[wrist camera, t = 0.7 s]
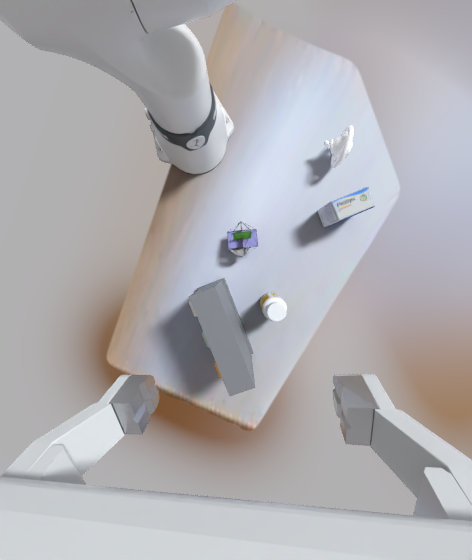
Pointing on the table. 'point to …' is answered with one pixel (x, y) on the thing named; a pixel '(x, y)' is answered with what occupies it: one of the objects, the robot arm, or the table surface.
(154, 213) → the table surface
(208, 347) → the button sage
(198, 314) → the button panel
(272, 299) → the supplement bottle
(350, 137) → the white irregular piece
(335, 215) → the medicine box
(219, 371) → the button orange
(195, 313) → the button offwhite
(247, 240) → the geometric puzzle
